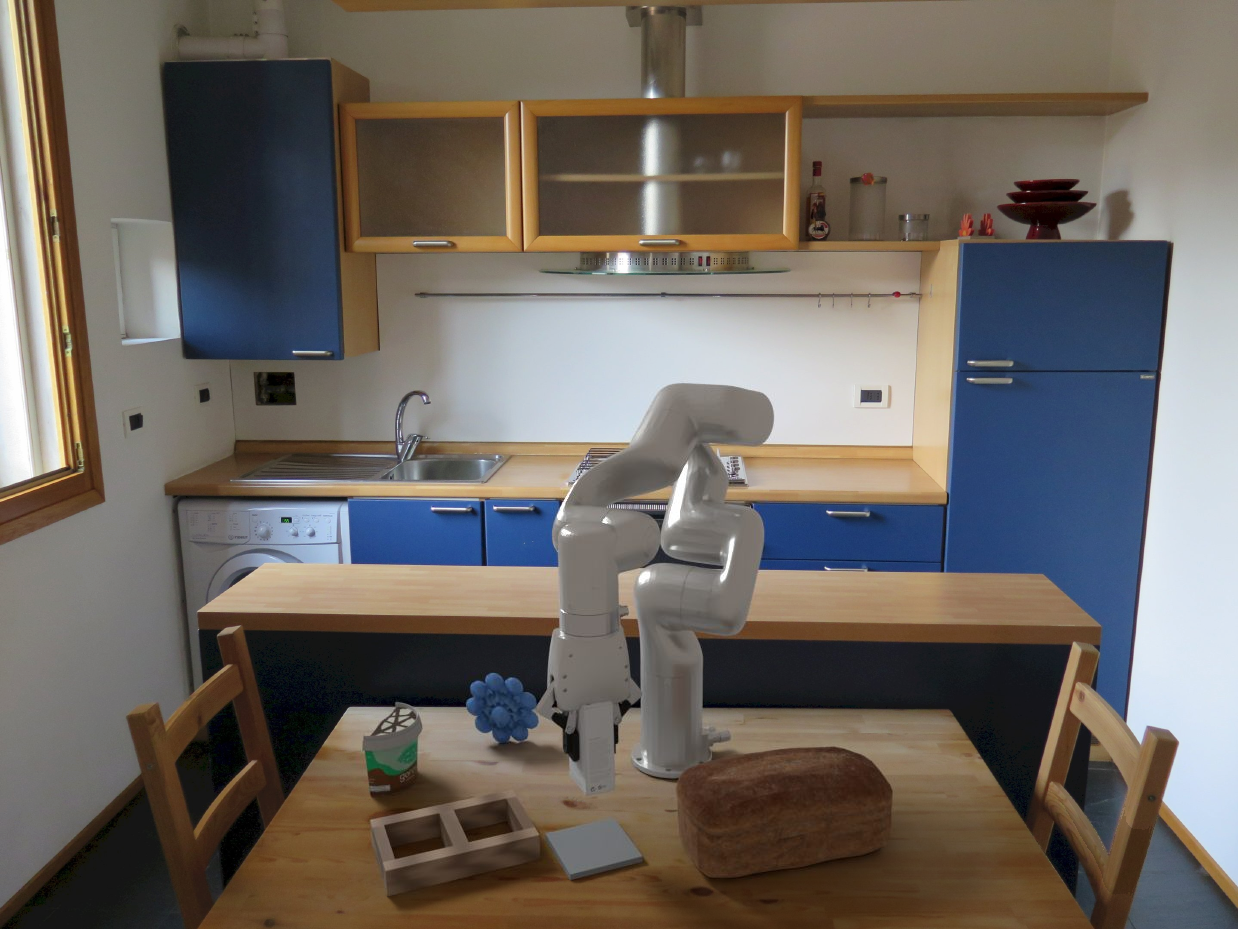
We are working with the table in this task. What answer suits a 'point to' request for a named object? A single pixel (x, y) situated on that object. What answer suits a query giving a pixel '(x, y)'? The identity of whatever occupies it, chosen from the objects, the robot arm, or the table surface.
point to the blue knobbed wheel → (502, 708)
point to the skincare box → (595, 749)
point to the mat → (593, 848)
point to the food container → (393, 751)
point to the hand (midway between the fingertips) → (590, 752)
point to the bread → (782, 810)
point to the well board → (453, 841)
